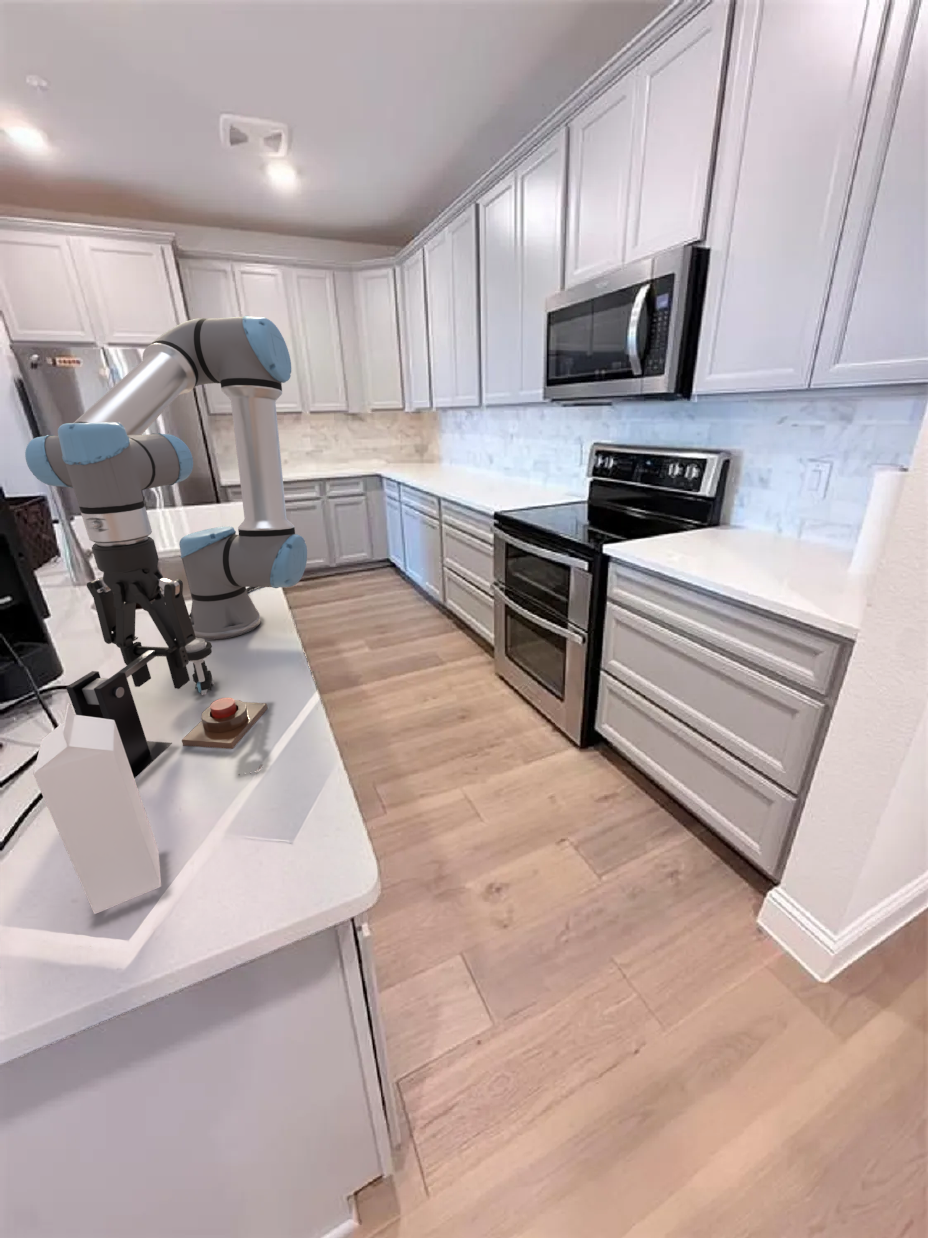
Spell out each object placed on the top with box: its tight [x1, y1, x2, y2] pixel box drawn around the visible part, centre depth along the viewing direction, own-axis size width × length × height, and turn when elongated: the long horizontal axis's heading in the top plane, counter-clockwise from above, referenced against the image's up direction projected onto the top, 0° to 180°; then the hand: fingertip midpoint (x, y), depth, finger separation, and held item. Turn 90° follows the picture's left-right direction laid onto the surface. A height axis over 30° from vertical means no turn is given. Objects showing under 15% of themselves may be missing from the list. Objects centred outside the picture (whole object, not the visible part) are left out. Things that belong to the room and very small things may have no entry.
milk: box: [32, 702, 162, 915], centre depth 51 cm, size 6×6×22 cm
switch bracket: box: [65, 670, 173, 779], centre depth 70 cm, size 10×8×15 cm
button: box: [209, 697, 237, 719], centre depth 80 cm, size 4×4×2 cm
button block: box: [181, 699, 268, 750], centre depth 80 cm, size 11×8×4 cm
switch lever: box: [82, 645, 169, 705], centre depth 73 cm, size 13×6×2 cm, turn 173°
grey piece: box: [185, 638, 215, 696], centre depth 91 cm, size 7×5×10 cm
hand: (162, 683), depth 80 cm, fingers closed on switch lever, 6 cm apart
